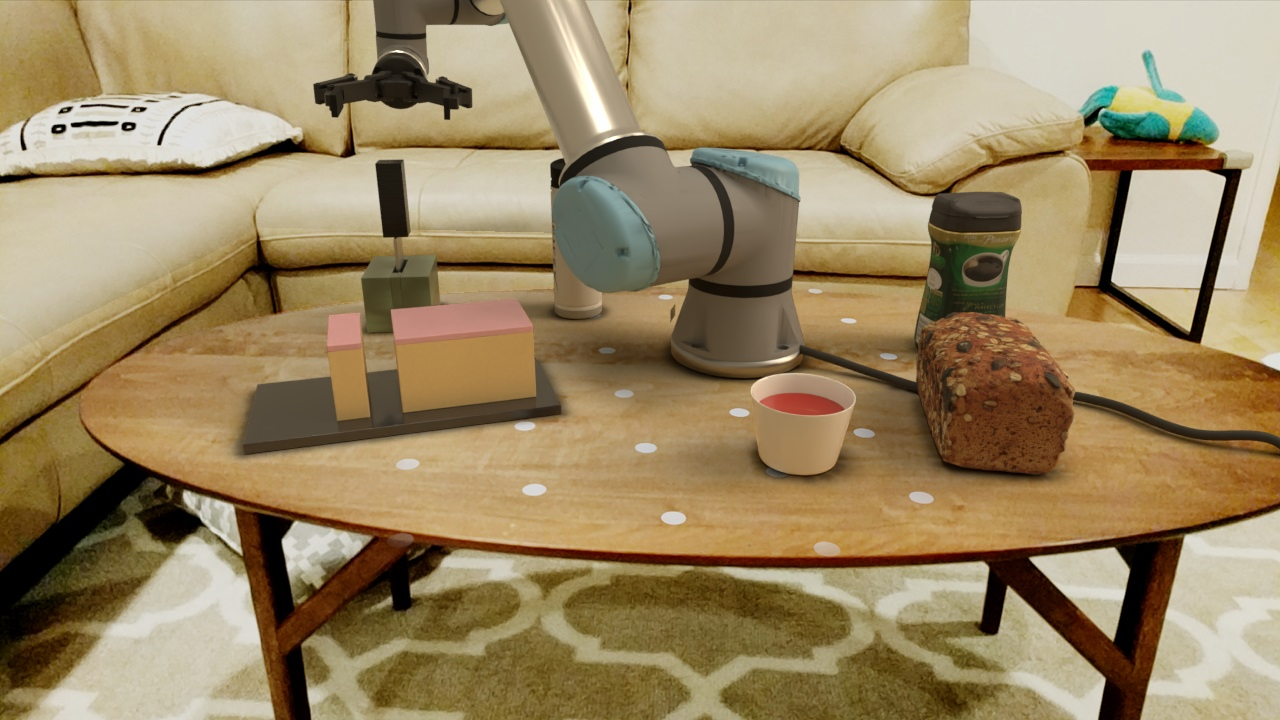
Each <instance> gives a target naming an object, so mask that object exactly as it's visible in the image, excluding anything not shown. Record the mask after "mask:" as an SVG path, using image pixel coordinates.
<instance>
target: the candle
mask: <svg viewBox="0 0 1280 720" xmlns="http://www.w3.org/2000/svg"><path fill="white" fill-rule="evenodd" d="M749 393H750V402H751V408H752V409H751V410H752V416H753V425H754V431H755V438H756V445H757V451H758V456H759V459H761V461H762V462H763V463H764V464H765V465H767V466H768V467H769V468H771V469H772V470H775V471H777V472H781V473H784V474H790V475H794V476H813V475H818V474H823V473H825V472H828V471H829V470H831V469H832V468H833V467H834V466H835V465H836V464H837V462H838V459H839V456H840V453H841V450H842V447H843V444H844V441H845V437H846V434H847V431H848V428H849V424H850V422H851V418H852V414H853V412H854V408H855V406H856V402H857V396H856V394H855V392H854V391H853V389H852V388H850V387H849V386H848V385H846V384H844V383H843V382H841V381H838V380H836V379H833V378H831V377H826V376H823V375H819V374H812V373H802V372H801V373H800V372H784V373H781V374H776V375H771V376H766V377H761V378H759V379H758V380H756V381H755V382H754V383H753V384H752V385H751V387H750V391H749Z"/></svg>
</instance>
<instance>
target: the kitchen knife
mask: <svg viewBox="0 0 1280 720" xmlns="http://www.w3.org/2000/svg"><path fill="white" fill-rule="evenodd" d="M374 165H375V174H376V175H375V177H376V182H377V183H376V185H377V195H378V203H379V211H380V221H381V230H382V238H385V239H386V238H389V239H390V238H393V239H392V241H393V242H392V243H393V250H394V256H395V261H396V271H397V273H402V272H403V270H404V268H405V266H404V256H405V255H404V247H403V238H408V237H409V236H410V234H411V232H412V231H411V229H412V228H411V222H410V221H411V220H410V211H409V200H408V189H407V179H406V168H405V160H404V159H378V160H377V161H376V162H375V163H374Z"/></svg>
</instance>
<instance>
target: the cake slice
mask: <svg viewBox="0 0 1280 720" xmlns="http://www.w3.org/2000/svg"><path fill="white" fill-rule="evenodd" d="M326 351H327V358H328V365H329V366H328V367H329V372H330V376H331V381H332V388H333V395H334V402H335V409H336V416H337V421H342V420H350V419H359V418H367V417H370V402H369V383H368V374H367V373H368V366H367V358H366V350H365V343H364V334H363V326H362V319H361V312H350V313H338V314H329V315H328V321H327V335H326Z"/></svg>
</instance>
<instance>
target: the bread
mask: <svg viewBox="0 0 1280 720" xmlns="http://www.w3.org/2000/svg"><path fill="white" fill-rule="evenodd" d="M917 348H918V349H917V350H918V352H917V357H916V359H915V363H916V364H915V365H916V376H915V377H916V379H915V382H917V383H918V392H917V393H918V396H919V398H920V402H921V405H922V409H923V412H924V415H925V418H926V421H927V423H928V424H927V425H928V426H929V431H931V436H932V439H933V441H934V444H935V447H936V449H937V451H938V454H939V455H940V457H941V458H942V461H943V462H945V463H949V464H951V465H954V466H958V467H961V468H965V469H974V470H975V469H976V470H982V471H983V470H984V471H999V472H1007V473H1016V474H1017V473H1020V474H1027V475H1036V476H1037V475H1042V474H1049V473H1050V472H1052V471H1053V470H1054V469H1055V468H1056V467H1057V464H1058V463H1059V462H1060V455H1061V454H1062V453H1064V452H1065V451H1066V441H1067V440H1068V439H1069V431H1070V428H1071V426H1072V425H1073V422H1074V418H1075V409H1074V406H1073V404H1074V400H1073V397H1074V394H1075V391H1076V387H1075V386H1074V385H1073V384H1072V383H1071V382H1070V380H1069V378H1070V377H1069V374H1068V373H1067V372H1065V371H1064V370H1063V369H1062V366H1061V364H1060V363H1058V361H1057V360H1056V359H1055V357H1053V356H1052V354H1051V353H1050V352H1049V351H1048V350H1047V349H1046V348H1045V347H1044V346H1043V345H1042V344H1041V342H1040V341H1039V339H1037V337H1036V334H1035V333H1033V332H1032V330H1031V329H1030V327H1029V326H1028V325H1027V324H1025V323H1024V322H1021V321H1020V320H1019V319H1017V318H1013V317H1006V316H1005V317H1002V316H997V315H992V314H981V313H974V312H969V313H965V312H963V313H957V312H954V313H950V314H948V315H947V316H946V317H945V318H942V319H940V320H938V321H935V322H931V323H929V325H927V326H925V327H924V328H923V329H922V331H921V334H920V338H919V339H918V345H917Z"/></svg>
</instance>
